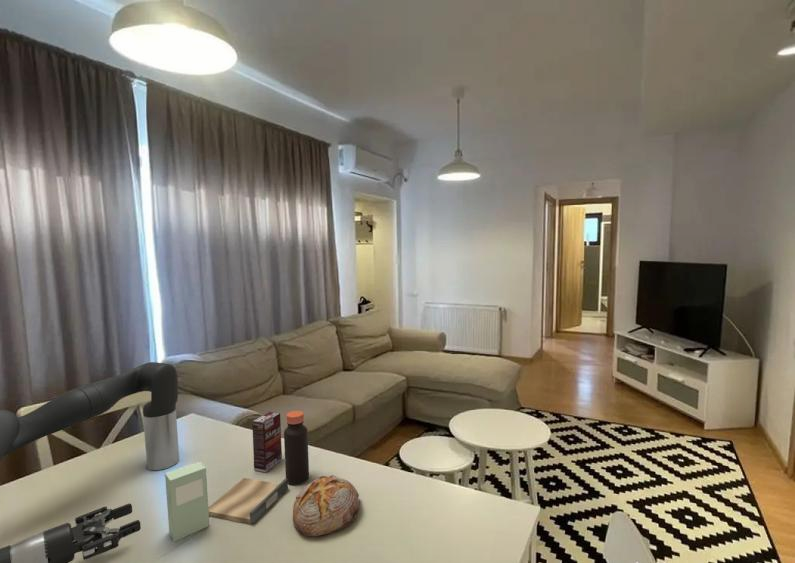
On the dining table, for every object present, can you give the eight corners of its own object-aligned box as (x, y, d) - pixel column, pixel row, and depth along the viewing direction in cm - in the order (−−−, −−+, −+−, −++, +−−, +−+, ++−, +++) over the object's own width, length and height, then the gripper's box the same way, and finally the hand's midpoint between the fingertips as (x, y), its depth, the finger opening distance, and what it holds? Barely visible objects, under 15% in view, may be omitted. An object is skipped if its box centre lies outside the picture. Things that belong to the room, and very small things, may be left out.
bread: (280, 540, 100) (275, 500, 99) (314, 492, 119) (311, 458, 118) (344, 545, 96) (339, 504, 95) (369, 495, 115) (366, 460, 114)
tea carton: (169, 532, 102) (164, 473, 101) (203, 517, 107) (199, 461, 106) (174, 541, 99) (170, 480, 98) (209, 525, 104) (205, 467, 103)
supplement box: (266, 473, 128) (263, 423, 127) (253, 470, 130) (250, 421, 129) (283, 459, 136) (281, 412, 135) (271, 457, 138) (268, 410, 137)
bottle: (298, 470, 129) (296, 407, 128) (314, 477, 125) (311, 412, 124) (281, 480, 124) (278, 415, 122) (296, 488, 120) (293, 420, 118)
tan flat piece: (204, 514, 108) (203, 503, 108) (244, 481, 124) (243, 472, 123) (253, 524, 104) (253, 513, 104) (288, 489, 119) (288, 479, 119)
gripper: (42, 551, 90) (130, 517, 101) (46, 590, 79) (144, 547, 90) (39, 518, 89) (128, 487, 100) (43, 552, 79) (141, 514, 90)
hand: (135, 515), depth 95 cm, fingers open, 8 cm apart
